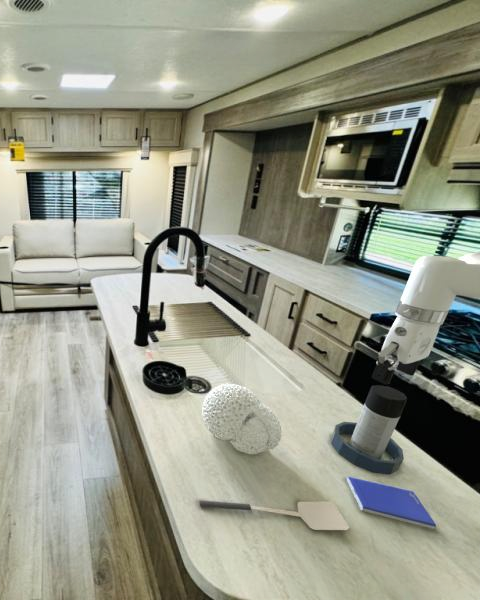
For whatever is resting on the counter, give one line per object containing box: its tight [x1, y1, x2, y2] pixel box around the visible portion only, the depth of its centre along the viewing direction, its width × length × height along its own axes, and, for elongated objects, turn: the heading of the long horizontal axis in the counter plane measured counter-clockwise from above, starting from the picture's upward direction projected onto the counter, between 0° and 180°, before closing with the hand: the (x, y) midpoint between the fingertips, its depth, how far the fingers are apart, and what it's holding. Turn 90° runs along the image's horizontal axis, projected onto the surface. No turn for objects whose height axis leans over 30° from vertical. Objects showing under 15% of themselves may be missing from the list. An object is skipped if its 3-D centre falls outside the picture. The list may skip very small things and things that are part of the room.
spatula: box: [199, 500, 350, 531], centre depth 69 cm, size 6×29×2 cm, turn 83°
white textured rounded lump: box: [201, 383, 283, 455], centre depth 88 cm, size 20×18×16 cm
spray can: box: [348, 385, 408, 459], centre depth 80 cm, size 7×7×20 cm
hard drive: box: [346, 476, 437, 530], centre depth 71 cm, size 2×8×12 cm
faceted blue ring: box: [330, 421, 405, 476], centre depth 83 cm, size 14×14×4 cm
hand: (392, 376), depth 75 cm, fingers open, 9 cm apart
